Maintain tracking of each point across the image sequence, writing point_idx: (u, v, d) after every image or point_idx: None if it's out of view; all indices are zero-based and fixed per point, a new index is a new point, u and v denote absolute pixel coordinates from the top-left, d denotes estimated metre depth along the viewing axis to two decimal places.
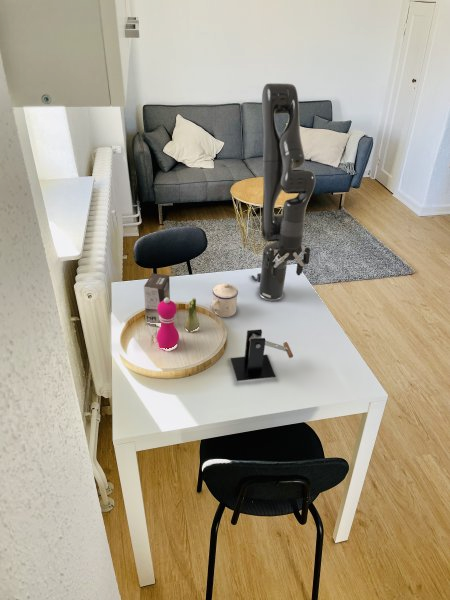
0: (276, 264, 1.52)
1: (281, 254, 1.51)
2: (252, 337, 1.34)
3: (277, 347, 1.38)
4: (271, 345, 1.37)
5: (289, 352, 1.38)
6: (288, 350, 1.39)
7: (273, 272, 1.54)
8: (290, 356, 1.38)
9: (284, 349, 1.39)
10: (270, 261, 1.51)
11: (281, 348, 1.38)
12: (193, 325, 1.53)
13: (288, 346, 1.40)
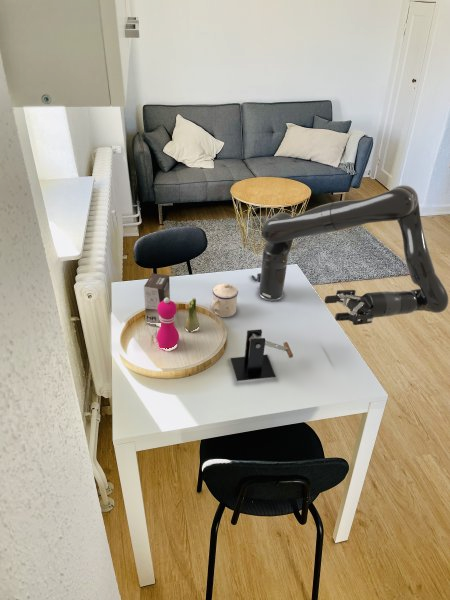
0: None
1: None
2: (252, 337, 1.34)
3: (277, 347, 1.38)
4: (271, 345, 1.37)
5: (289, 352, 1.38)
6: (288, 350, 1.39)
7: None
8: (290, 356, 1.38)
9: (284, 349, 1.39)
10: None
11: (281, 348, 1.38)
12: (193, 325, 1.53)
13: (288, 346, 1.40)
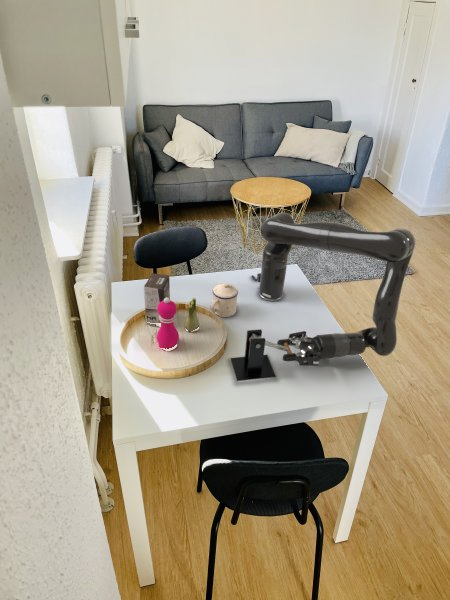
0: None
1: None
2: (252, 337, 1.34)
3: (277, 347, 1.38)
4: (271, 345, 1.37)
5: (289, 352, 1.38)
6: (288, 350, 1.39)
7: None
8: None
9: (284, 349, 1.39)
10: None
11: (281, 348, 1.38)
12: (193, 325, 1.53)
13: (288, 346, 1.40)
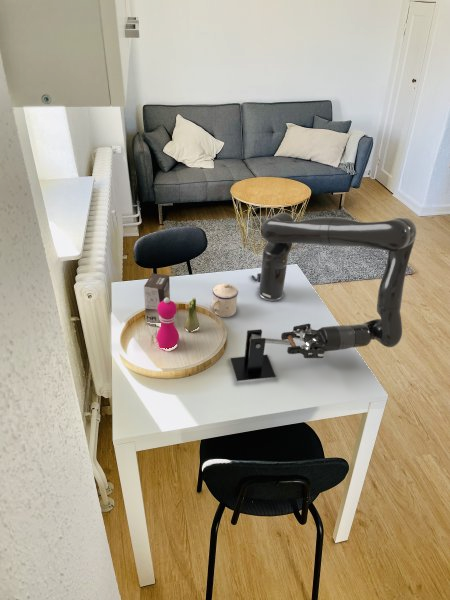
0: None
1: None
2: (251, 338, 1.34)
3: (280, 342, 1.37)
4: (273, 342, 1.36)
5: (293, 345, 1.37)
6: (292, 343, 1.37)
7: None
8: None
9: (287, 343, 1.38)
10: None
11: (284, 343, 1.37)
12: (193, 325, 1.53)
13: (292, 339, 1.39)
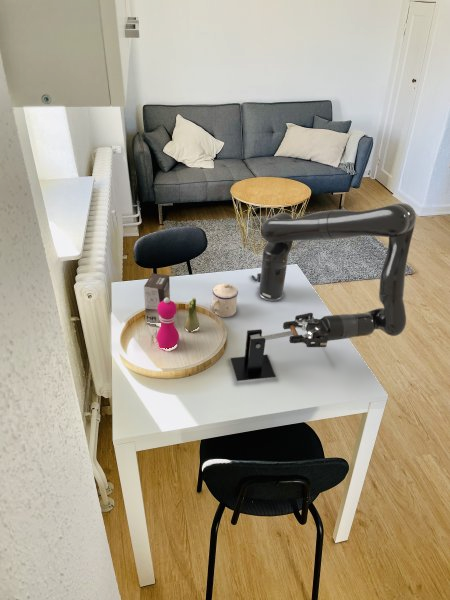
0: None
1: None
2: None
3: (281, 336, 1.35)
4: (274, 337, 1.35)
5: (294, 335, 1.35)
6: (293, 333, 1.35)
7: None
8: None
9: (289, 334, 1.36)
10: None
11: (286, 335, 1.36)
12: (193, 325, 1.53)
13: (293, 329, 1.37)
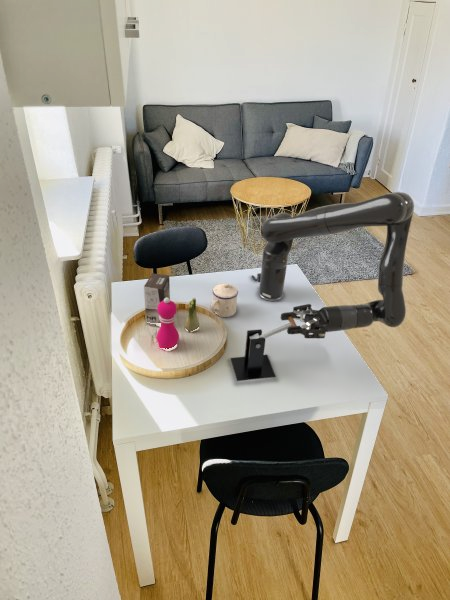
0: None
1: None
2: None
3: (280, 330, 1.34)
4: (273, 333, 1.34)
5: None
6: (291, 325, 1.33)
7: None
8: None
9: None
10: None
11: (284, 328, 1.34)
12: (193, 325, 1.53)
13: (291, 320, 1.34)
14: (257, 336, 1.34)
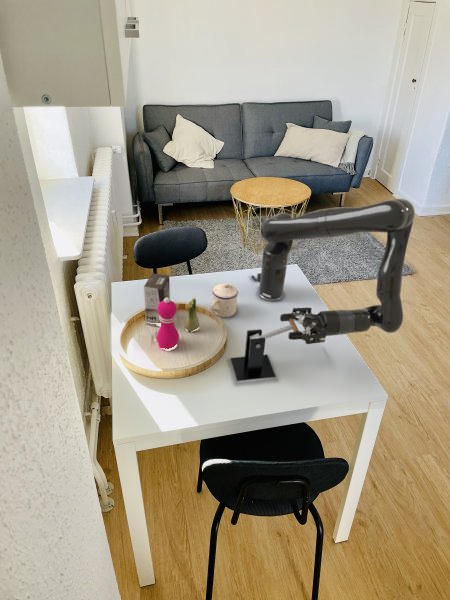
0: None
1: None
2: None
3: (280, 332, 1.34)
4: (273, 334, 1.34)
5: (293, 329, 1.33)
6: (292, 327, 1.34)
7: None
8: None
9: (289, 329, 1.34)
10: None
11: (285, 330, 1.34)
12: (193, 325, 1.53)
13: (292, 322, 1.35)
14: (257, 336, 1.34)
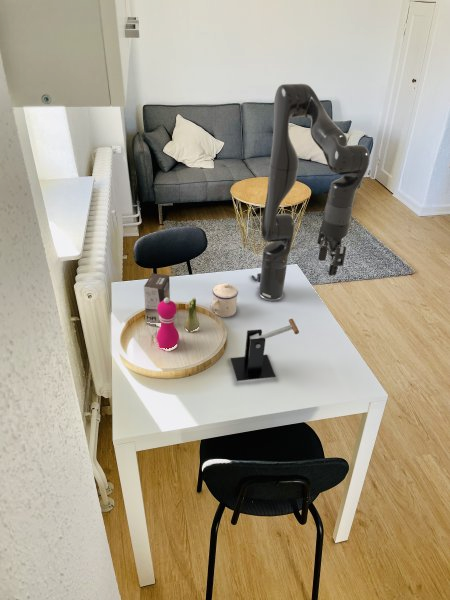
0: None
1: None
2: None
3: (280, 332, 1.34)
4: (273, 334, 1.34)
5: (293, 329, 1.33)
6: (292, 327, 1.34)
7: None
8: (296, 332, 1.33)
9: (289, 329, 1.34)
10: None
11: (285, 330, 1.34)
12: (193, 325, 1.53)
13: (292, 322, 1.35)
14: (257, 336, 1.34)
